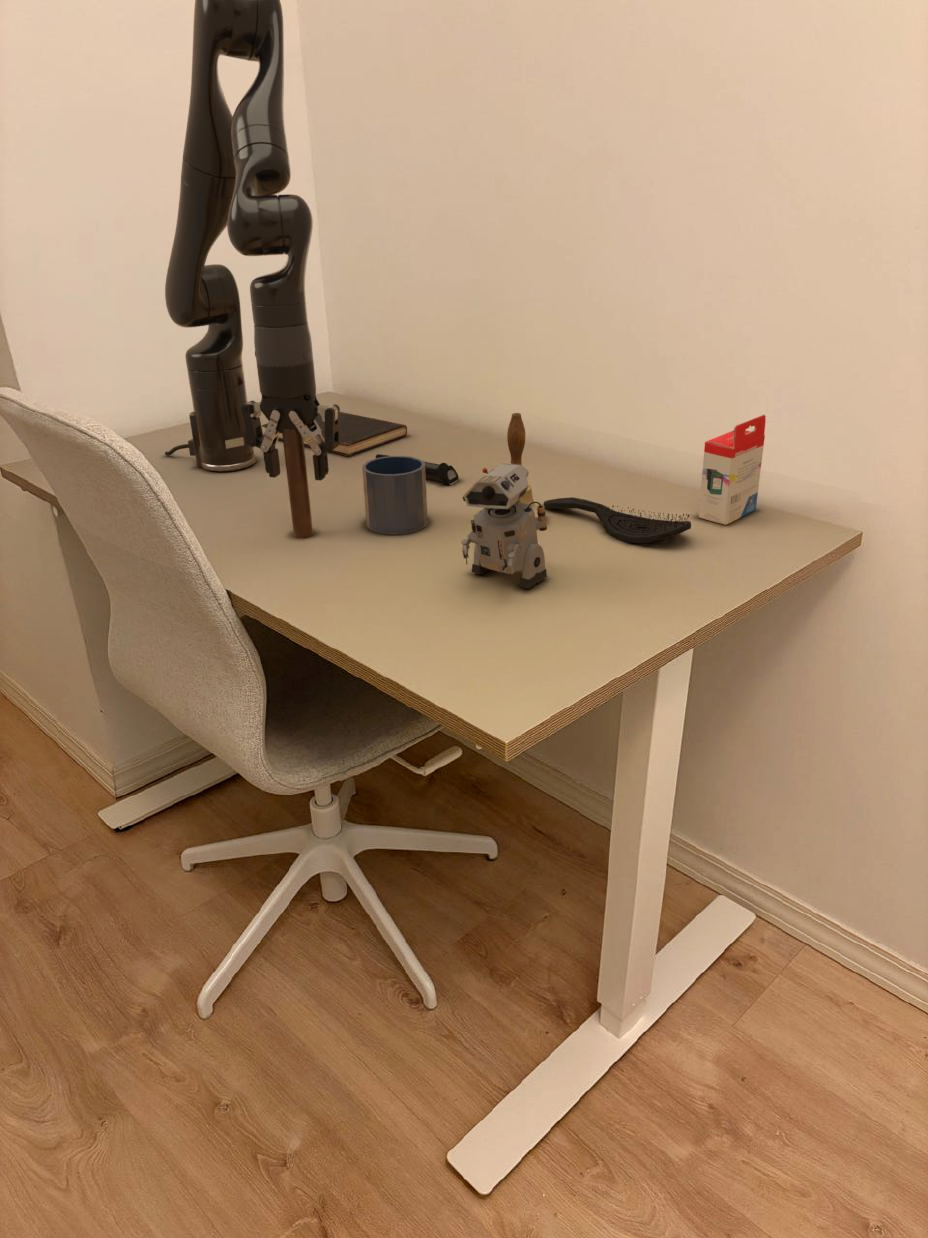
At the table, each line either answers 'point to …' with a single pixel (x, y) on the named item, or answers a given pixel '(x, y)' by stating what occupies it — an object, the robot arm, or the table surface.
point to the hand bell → (519, 451)
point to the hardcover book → (360, 433)
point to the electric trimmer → (437, 472)
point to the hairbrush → (625, 521)
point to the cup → (395, 495)
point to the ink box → (732, 473)
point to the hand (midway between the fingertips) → (297, 476)
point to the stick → (297, 483)
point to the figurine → (505, 526)
